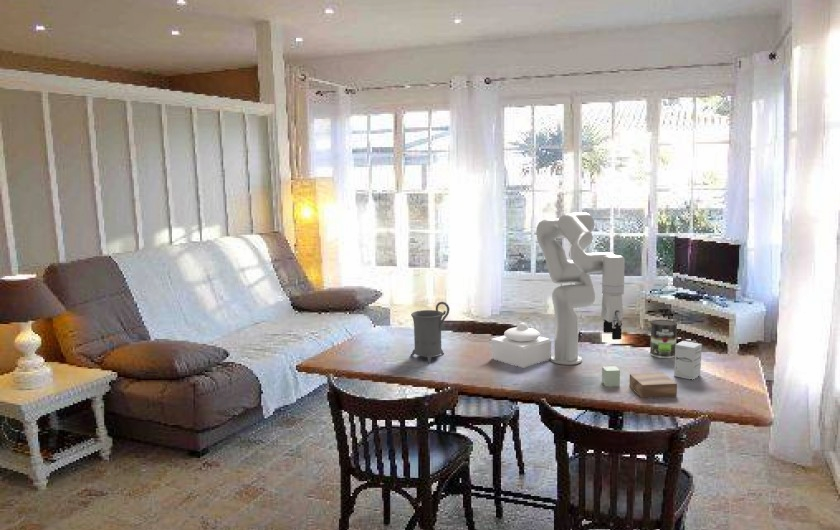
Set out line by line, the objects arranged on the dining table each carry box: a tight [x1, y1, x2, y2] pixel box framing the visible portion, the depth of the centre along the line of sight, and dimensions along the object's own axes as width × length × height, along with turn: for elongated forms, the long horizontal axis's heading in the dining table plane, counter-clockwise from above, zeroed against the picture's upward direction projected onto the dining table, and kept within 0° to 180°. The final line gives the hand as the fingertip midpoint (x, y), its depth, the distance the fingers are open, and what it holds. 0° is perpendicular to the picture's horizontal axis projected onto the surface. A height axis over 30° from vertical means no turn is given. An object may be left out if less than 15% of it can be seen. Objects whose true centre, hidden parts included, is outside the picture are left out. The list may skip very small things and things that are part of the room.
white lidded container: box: [490, 321, 552, 369], centre depth 266 cm, size 18×18×16 cm
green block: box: [601, 365, 621, 387], centre depth 233 cm, size 5×5×6 cm
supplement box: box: [673, 340, 703, 381], centre depth 239 cm, size 7×7×13 cm
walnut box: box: [629, 372, 678, 399], centre depth 225 cm, size 12×12×5 cm
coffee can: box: [649, 319, 678, 359], centre depth 267 cm, size 10×10×14 cm
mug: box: [410, 301, 450, 364], centre depth 270 cm, size 19×15×25 cm
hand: (612, 335), depth 231 cm, fingers open, 9 cm apart
